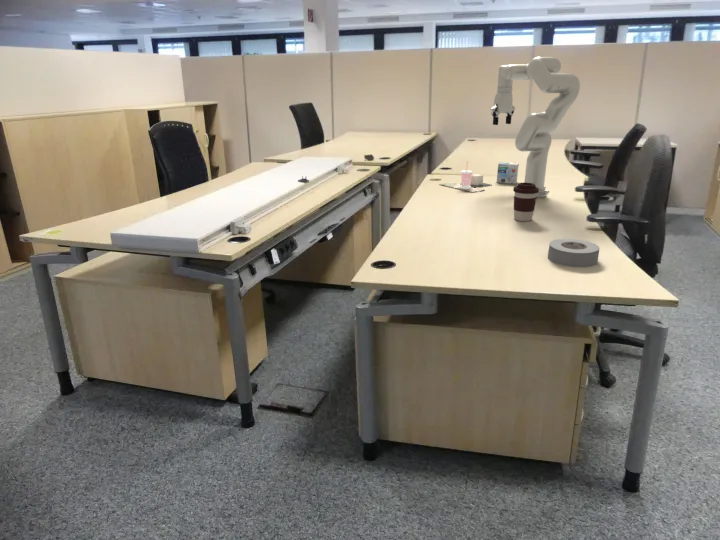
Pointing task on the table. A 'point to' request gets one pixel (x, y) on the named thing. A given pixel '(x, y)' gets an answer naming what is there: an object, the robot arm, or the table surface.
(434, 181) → the table surface
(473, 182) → the die
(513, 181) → the light bulb box
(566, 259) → the tape roll
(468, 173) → the beverage cup
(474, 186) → the mat
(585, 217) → the table surface
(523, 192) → the coffee cup
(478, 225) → the table surface
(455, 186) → the track
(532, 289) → the table surface
